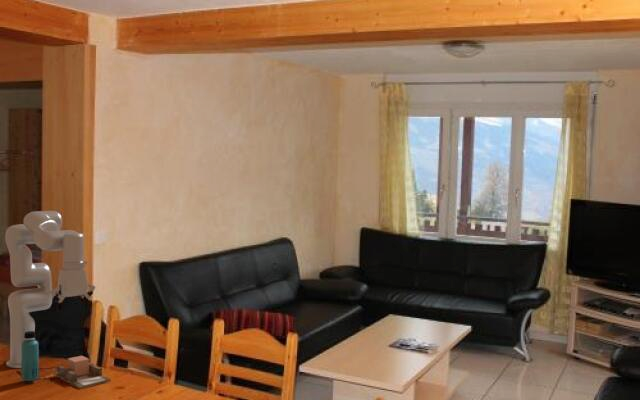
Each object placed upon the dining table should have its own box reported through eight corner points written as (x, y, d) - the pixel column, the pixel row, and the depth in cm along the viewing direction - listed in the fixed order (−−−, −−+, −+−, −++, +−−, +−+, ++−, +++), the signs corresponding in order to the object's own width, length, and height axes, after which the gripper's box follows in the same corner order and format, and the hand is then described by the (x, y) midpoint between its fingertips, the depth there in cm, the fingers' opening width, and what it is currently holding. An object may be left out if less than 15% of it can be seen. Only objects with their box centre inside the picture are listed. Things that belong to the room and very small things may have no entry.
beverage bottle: (32, 385, 259) (32, 334, 258) (17, 383, 260) (17, 333, 259) (42, 380, 265) (42, 330, 264) (27, 378, 266) (27, 329, 265)
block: (67, 373, 271) (67, 358, 270) (81, 369, 275) (81, 355, 275) (74, 376, 267) (74, 361, 266) (88, 373, 271) (89, 359, 270)
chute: (56, 376, 270) (56, 366, 270) (86, 369, 280) (86, 360, 279) (79, 389, 256) (79, 378, 256) (110, 381, 266) (110, 371, 266)
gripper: (90, 262, 259) (89, 305, 260) (46, 266, 246) (45, 312, 248) (99, 264, 254) (99, 309, 255) (55, 269, 241) (54, 316, 242)
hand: (72, 310), depth 251 cm, fingers open, 9 cm apart
